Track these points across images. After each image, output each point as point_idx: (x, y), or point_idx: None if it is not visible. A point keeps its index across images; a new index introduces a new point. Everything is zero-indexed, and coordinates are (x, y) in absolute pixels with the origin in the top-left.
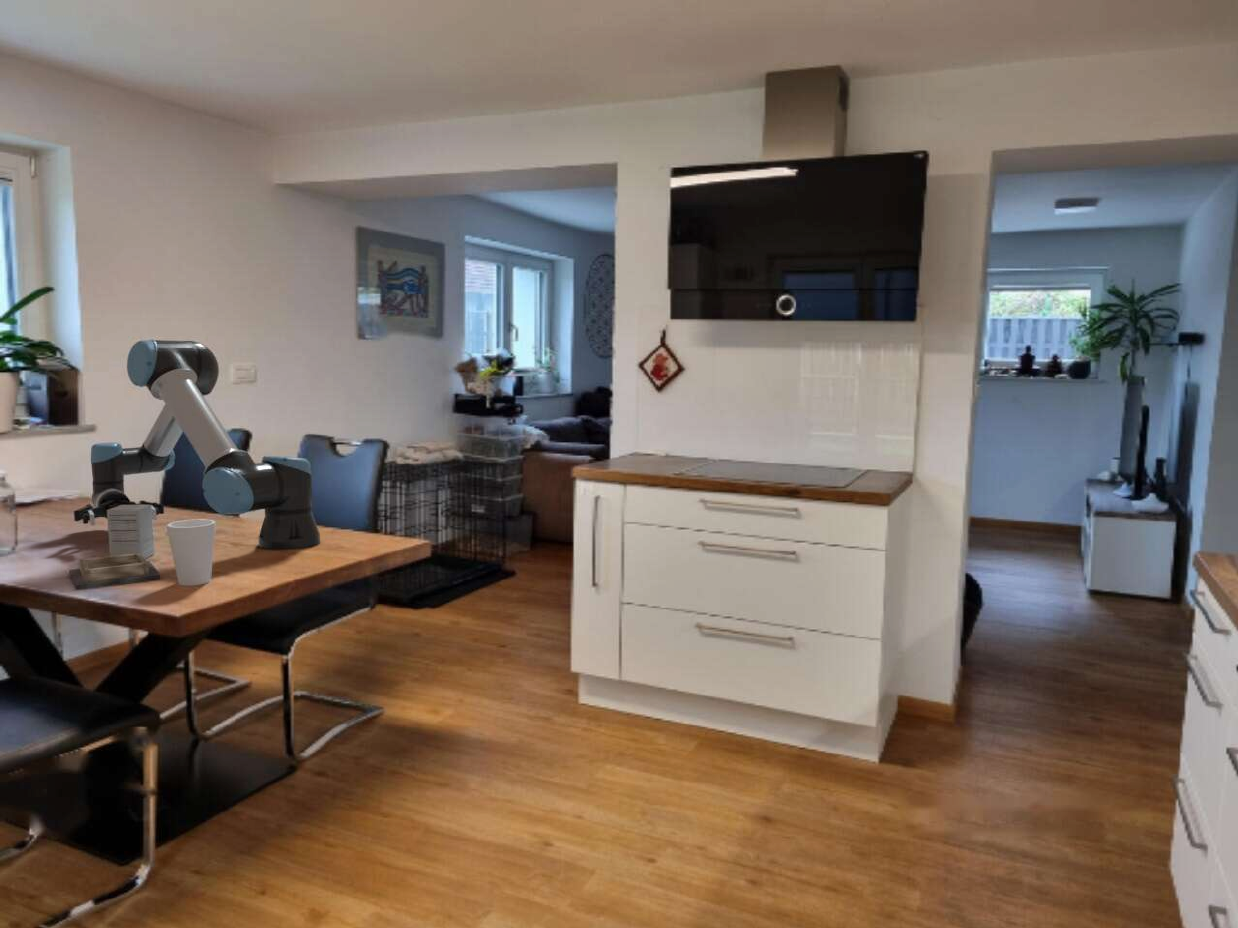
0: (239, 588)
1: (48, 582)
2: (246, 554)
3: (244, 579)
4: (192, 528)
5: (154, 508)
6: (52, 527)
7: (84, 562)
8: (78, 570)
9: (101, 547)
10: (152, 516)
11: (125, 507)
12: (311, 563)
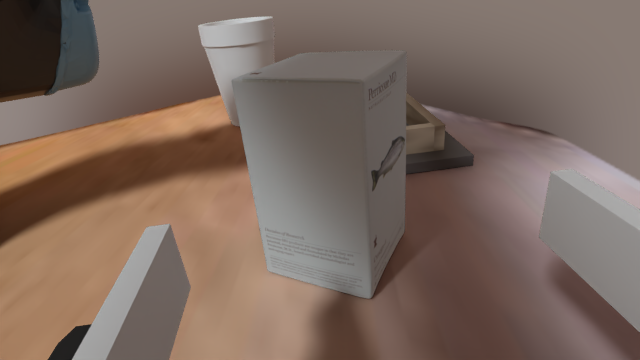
0: (217, 103)
1: (488, 139)
2: (70, 210)
3: (193, 118)
4: (244, 20)
5: (136, 254)
6: None
7: (424, 114)
8: (448, 150)
9: None
10: (178, 293)
11: (338, 58)
12: (58, 149)
